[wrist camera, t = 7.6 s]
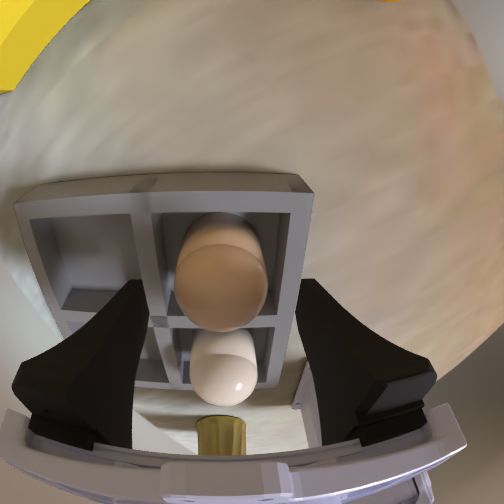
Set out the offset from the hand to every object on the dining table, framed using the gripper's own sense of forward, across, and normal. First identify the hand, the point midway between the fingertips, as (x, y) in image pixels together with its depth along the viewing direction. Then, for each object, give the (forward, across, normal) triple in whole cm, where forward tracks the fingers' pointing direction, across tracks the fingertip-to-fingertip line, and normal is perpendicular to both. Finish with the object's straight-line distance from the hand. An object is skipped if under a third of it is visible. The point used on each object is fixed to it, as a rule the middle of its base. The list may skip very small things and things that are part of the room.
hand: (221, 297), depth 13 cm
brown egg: (+4, 0, 0) cm, 4 cm away
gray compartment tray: (+5, +4, +4) cm, 7 cm away
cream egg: (+4, 0, +7) cm, 8 cm away
